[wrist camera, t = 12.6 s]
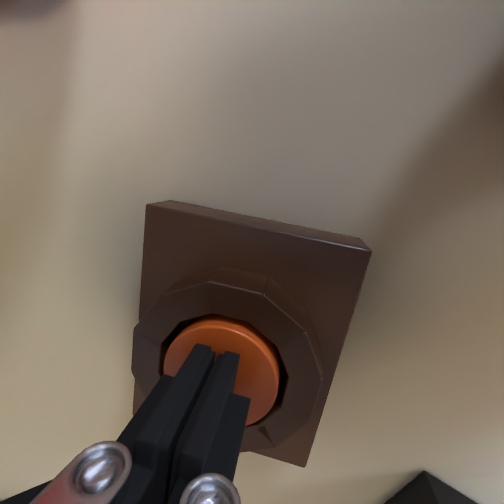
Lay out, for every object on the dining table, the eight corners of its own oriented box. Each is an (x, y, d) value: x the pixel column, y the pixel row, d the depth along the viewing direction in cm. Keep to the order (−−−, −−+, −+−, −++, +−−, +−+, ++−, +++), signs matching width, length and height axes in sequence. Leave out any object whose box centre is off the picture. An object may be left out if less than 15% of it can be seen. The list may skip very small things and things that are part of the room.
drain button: (186, 293, 12) (167, 313, 10) (291, 319, 11) (289, 344, 9) (176, 380, 13) (158, 410, 11) (270, 406, 12) (265, 442, 11)
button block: (169, 199, 13) (116, 208, 9) (361, 238, 12) (387, 265, 8) (153, 385, 16) (108, 448, 13) (304, 429, 15) (305, 512, 12)
